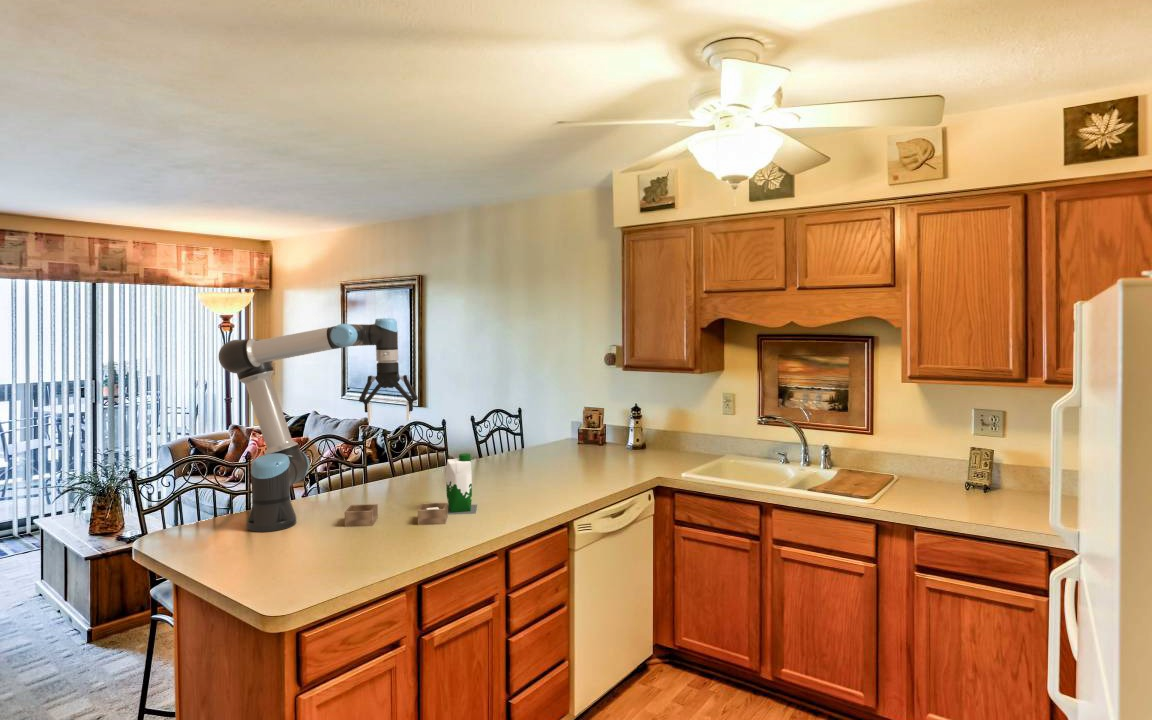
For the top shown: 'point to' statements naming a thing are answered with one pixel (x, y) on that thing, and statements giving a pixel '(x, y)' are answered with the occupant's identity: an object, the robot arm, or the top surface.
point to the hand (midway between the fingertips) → (389, 421)
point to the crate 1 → (361, 515)
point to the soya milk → (459, 483)
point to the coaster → (473, 511)
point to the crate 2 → (432, 514)
